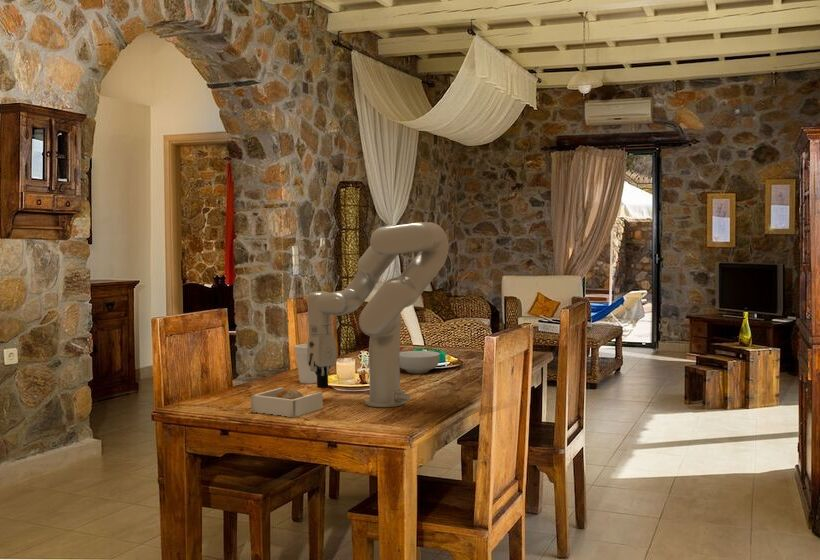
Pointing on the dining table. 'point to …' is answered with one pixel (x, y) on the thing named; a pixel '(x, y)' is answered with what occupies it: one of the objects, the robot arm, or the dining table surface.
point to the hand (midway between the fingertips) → (322, 387)
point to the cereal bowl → (419, 361)
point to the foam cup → (304, 365)
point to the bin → (285, 403)
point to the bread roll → (289, 394)
